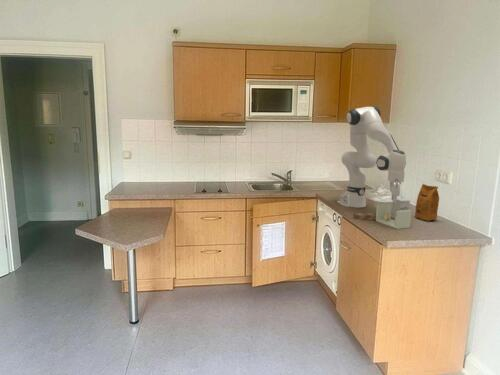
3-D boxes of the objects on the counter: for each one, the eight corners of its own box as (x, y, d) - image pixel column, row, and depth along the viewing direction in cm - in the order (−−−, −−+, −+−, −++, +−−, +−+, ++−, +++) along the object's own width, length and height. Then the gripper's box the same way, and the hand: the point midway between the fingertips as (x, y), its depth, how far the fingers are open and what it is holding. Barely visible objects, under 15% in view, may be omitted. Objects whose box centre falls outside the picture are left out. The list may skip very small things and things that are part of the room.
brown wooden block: (356, 220, 221) (356, 215, 221) (353, 218, 226) (354, 213, 226) (377, 221, 222) (378, 215, 221) (374, 219, 227) (375, 213, 226)
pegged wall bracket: (375, 220, 221) (376, 205, 219) (388, 219, 224) (389, 204, 223) (396, 228, 204) (398, 211, 203) (410, 227, 208) (411, 210, 206)
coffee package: (423, 215, 236) (427, 183, 232) (439, 220, 225) (443, 186, 221) (411, 216, 233) (415, 183, 229) (427, 221, 221) (431, 186, 217)
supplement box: (398, 220, 223) (400, 200, 221) (390, 217, 230) (392, 198, 228) (408, 219, 225) (410, 200, 223) (400, 216, 232) (402, 197, 230)
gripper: (403, 180, 199) (401, 205, 201) (399, 176, 218) (397, 198, 220) (391, 180, 200) (389, 204, 203) (388, 175, 220) (386, 197, 222)
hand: (393, 201), depth 212 cm, fingers open, 6 cm apart
